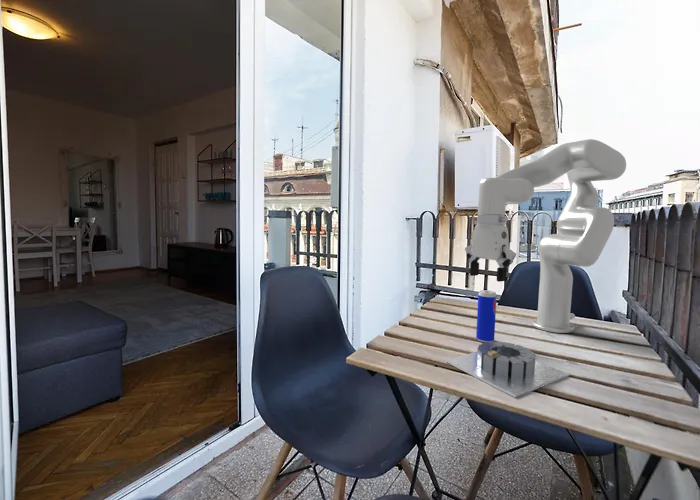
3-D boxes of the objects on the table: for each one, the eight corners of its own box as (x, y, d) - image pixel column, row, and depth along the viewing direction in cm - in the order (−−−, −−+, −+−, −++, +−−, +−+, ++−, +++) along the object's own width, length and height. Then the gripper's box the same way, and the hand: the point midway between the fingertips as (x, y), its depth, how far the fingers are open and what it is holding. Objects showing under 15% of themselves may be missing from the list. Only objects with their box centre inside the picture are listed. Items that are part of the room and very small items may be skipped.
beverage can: (495, 343, 106) (498, 294, 104) (477, 342, 107) (479, 293, 105) (492, 337, 111) (494, 290, 109) (475, 336, 112) (477, 289, 110)
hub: (497, 347, 103) (498, 329, 102) (568, 376, 85) (570, 354, 85) (446, 362, 93) (447, 342, 92) (515, 397, 75) (516, 373, 75)
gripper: (525, 221, 99) (521, 282, 101) (476, 219, 114) (472, 272, 116) (508, 221, 95) (504, 284, 97) (459, 219, 110) (456, 274, 112)
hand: (487, 278), depth 106 cm, fingers open, 9 cm apart
